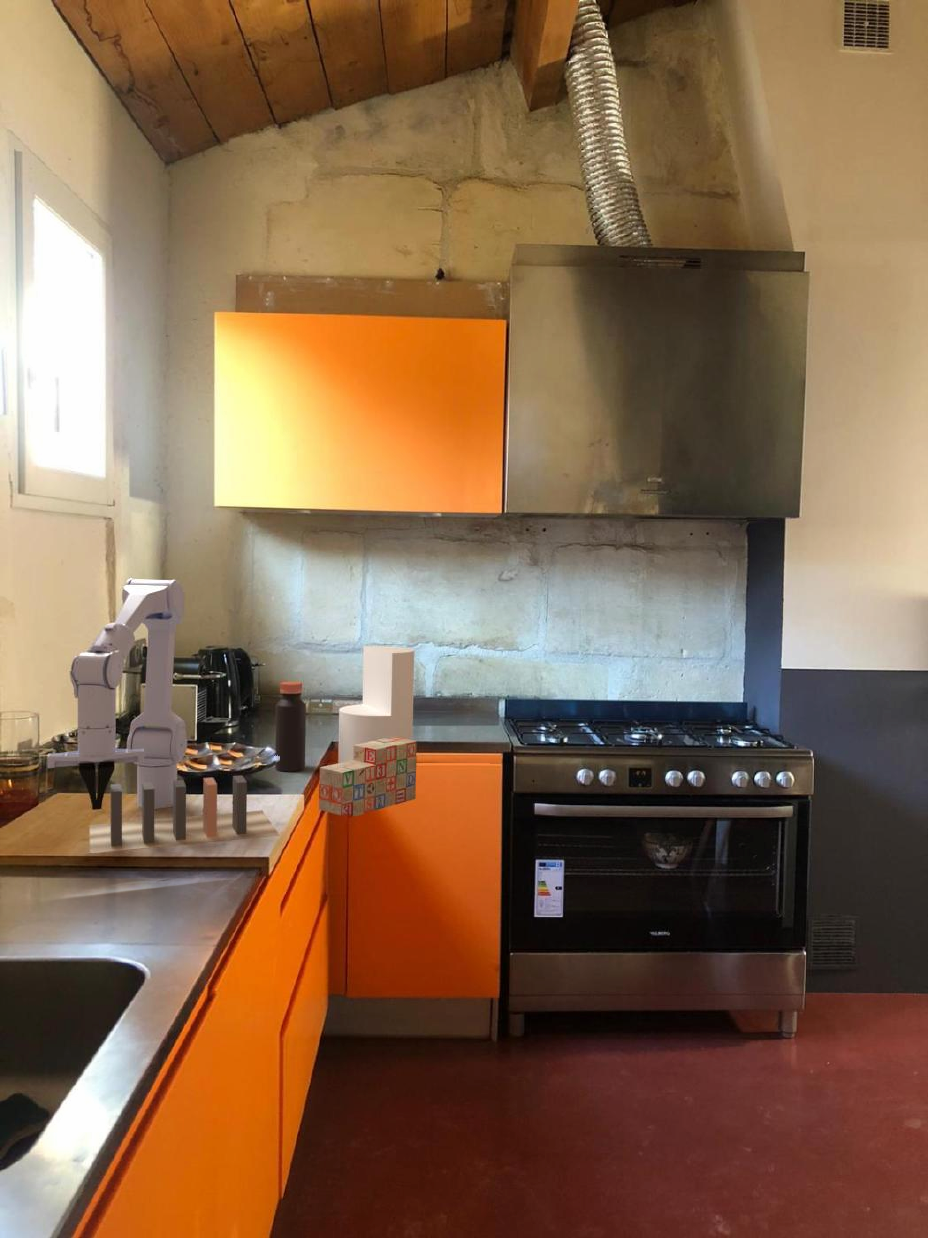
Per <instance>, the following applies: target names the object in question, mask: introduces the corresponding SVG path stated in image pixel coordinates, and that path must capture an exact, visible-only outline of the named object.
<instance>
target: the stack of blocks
mask: <svg viewBox="0 0 928 1238" xmlns="http://www.w3.org/2000/svg"><path fill="white" fill-rule="evenodd" d="M417 748H418V747H417V741H416V740H413V739H412V740H408V739H401V738H395V737H394V738H388V739H379V740H375V741H371V742H366V743H362V744H357V745H354V752H353V760H352V761H348V762H343V763H335V764H330V765H325V766H320V767H319V784H318V811H319V810H320V811H322V812H327V813H331V814H334V815H338V816H342V815H345V817H347V818H348V819H349V818H354V817H357V816H360V815H364V814H369V813H372V812H374V811H378V810H382V809H384V808H388V807H393V806H395V805H399V804H403V803H405V802H409V801H413V800H415V799H416V797H417V795H416V793H417V792H416V787H417V785H416V783H417V779H416V777H417V764H418V763H417V760H418V759H417V758H418V756H417Z"/></svg>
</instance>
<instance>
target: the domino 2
mask: <svg viewBox="0 0 928 1238" xmlns="http://www.w3.org/2000/svg"><path fill="white" fill-rule="evenodd" d="M141 809H142V810H141V812H142V813H141V814H142V815H141V819H142V820H141V821H142V836H143V841H144V843H154V820H155V809H154V786H153V782H142V808H141Z"/></svg>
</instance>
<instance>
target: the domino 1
mask: <svg viewBox="0 0 928 1238" xmlns="http://www.w3.org/2000/svg"><path fill="white" fill-rule="evenodd" d="M122 822H123V789H122V784H121V783H117V784H115V783H114V784H110V823H111V847H112V846H122Z"/></svg>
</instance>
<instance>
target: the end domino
mask: <svg viewBox="0 0 928 1238" xmlns="http://www.w3.org/2000/svg"><path fill="white" fill-rule="evenodd" d="M247 795H248V782H247V780H246V778H244V776H243V775H233V776H232V813H233V816H232V827H233V828H234V830H235V832H236V834H237V835H238V834H246V820H247V812H248V811H247V807H248V806H247V802H248V801H247V800H248V799H247V798H248V796H247Z"/></svg>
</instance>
